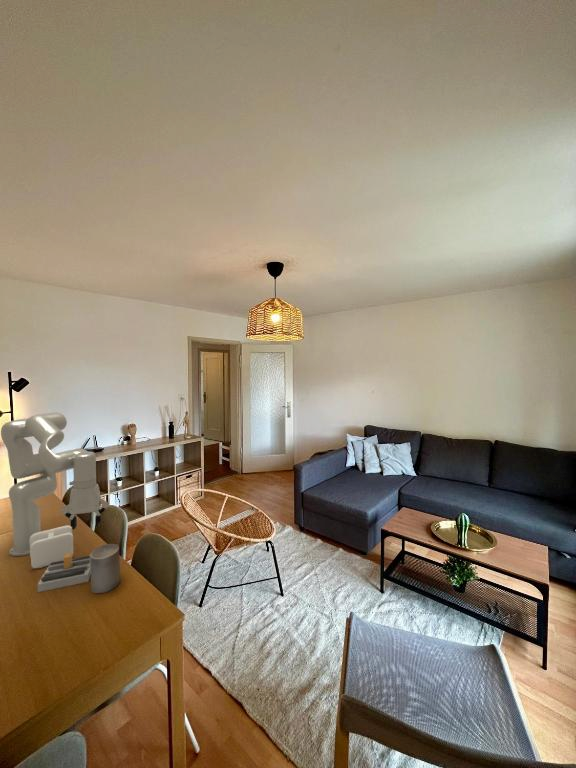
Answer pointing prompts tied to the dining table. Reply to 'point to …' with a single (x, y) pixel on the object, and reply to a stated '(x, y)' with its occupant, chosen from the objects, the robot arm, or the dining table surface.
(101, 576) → the pillar candle
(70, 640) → the dining table surface
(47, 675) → the dining table surface
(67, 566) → the lever
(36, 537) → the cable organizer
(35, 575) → the dining table surface
